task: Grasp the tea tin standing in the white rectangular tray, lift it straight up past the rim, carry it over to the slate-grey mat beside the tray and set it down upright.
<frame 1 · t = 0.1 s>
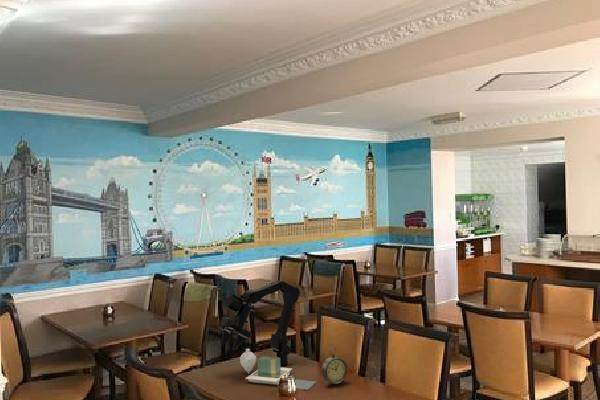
hand: (227, 348, 226), 15 cm above the table, tool tilted 35°, fingers open, 9 cm apart
spinning top: (248, 375, 234), on the table
alarm clock: (334, 385, 216), on the table
tea tin: (269, 378, 225), point 1 cm above the table, touching white rectangular tray
mat: (301, 385, 216), on the table
white rectangular tray: (269, 379, 225), on the table
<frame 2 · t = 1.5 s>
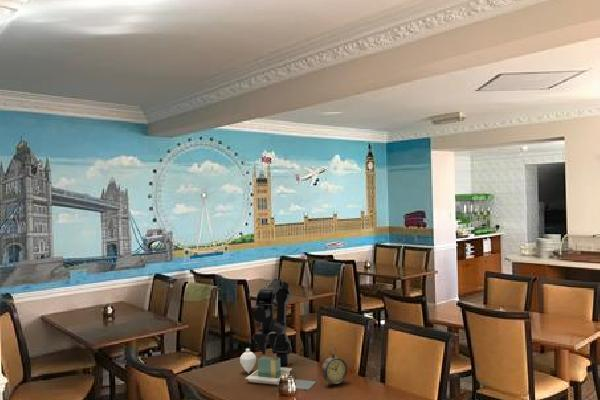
hand: (268, 351, 226), 13 cm above the table, tool pointing down, fingers open, 9 cm apart
nothing on the table moved.
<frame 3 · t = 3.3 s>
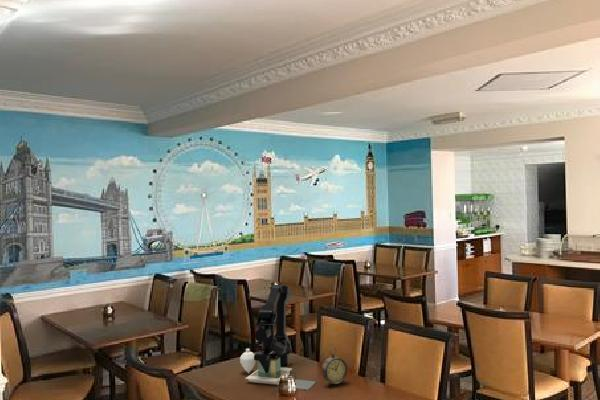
hand: (269, 371, 225), 4 cm above the table, tool pointing down, fingers closed on tea tin, 5 cm apart
tea tin: (269, 378, 225), point 1 cm above the table, touching white rectangular tray, gripper
everything else where it was.
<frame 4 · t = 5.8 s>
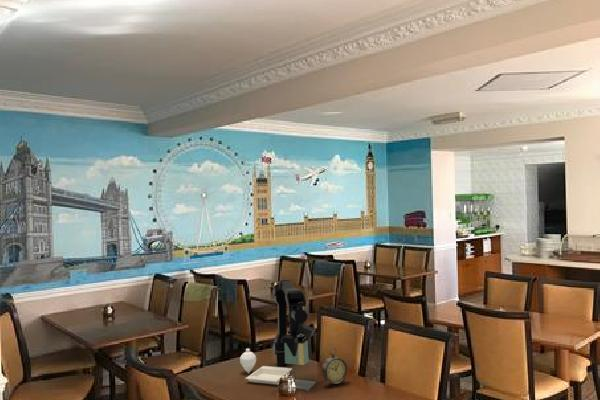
hand: (296, 354, 217), 13 cm above the table, tool pointing down, fingers closed on tea tin, 5 cm apart
tea tin: (296, 362, 217), point 10 cm above the table, touching gripper
everything else where it was.
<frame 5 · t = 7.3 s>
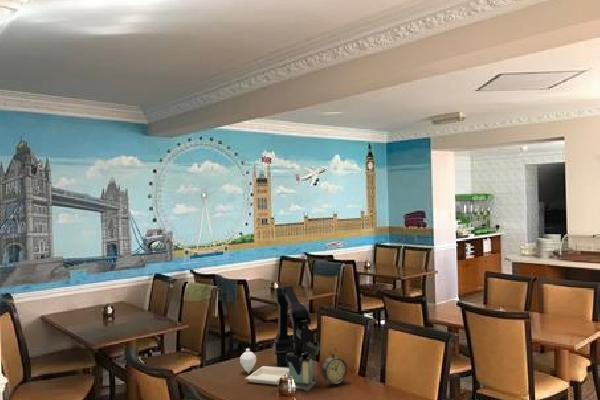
hand: (300, 372, 217), 6 cm above the table, tool pointing down, fingers closed on tea tin, 5 cm apart
tea tin: (301, 380, 217), point 2 cm above the table, touching gripper
everything else where it was.
when the fingers open (4 cm above the table, at t = 8.4 s): tea tin stays where it is, resting on mat.
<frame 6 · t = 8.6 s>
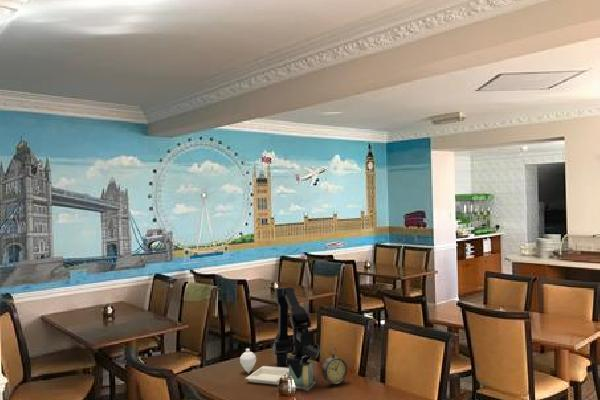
hand: (301, 375, 217), 4 cm above the table, tool pointing down, fingers open, 7 cm apart
tea tin: (301, 384, 217), point 1 cm above the table, touching mat
everything else where it was.
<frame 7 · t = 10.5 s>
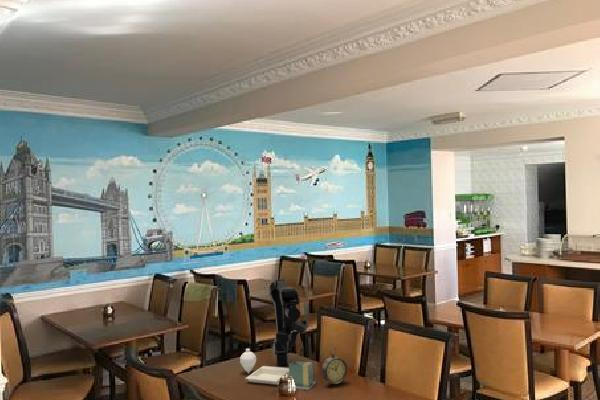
hand: (290, 349, 229), 13 cm above the table, tool pointing down, fingers open, 9 cm apart
nothing on the table moved.
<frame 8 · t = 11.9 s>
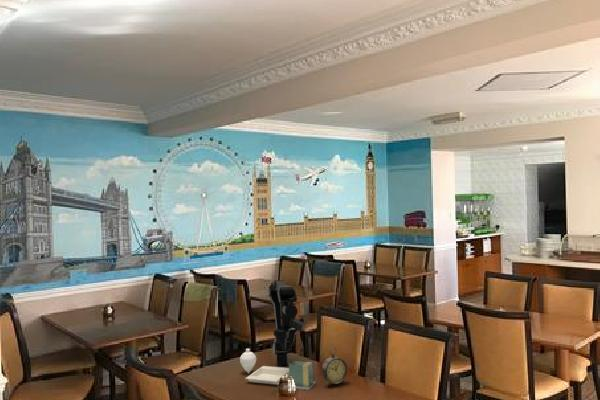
hand: (288, 347, 231), 13 cm above the table, tool pointing down, fingers open, 9 cm apart
nothing on the table moved.
at the end: tea tin 0.1 cm from the mat (horizontally); tea tin tilted 0°; tea tin point 0.6 cm above the table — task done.
